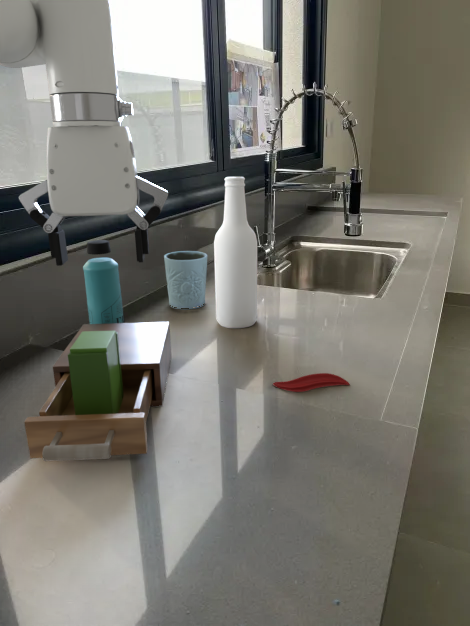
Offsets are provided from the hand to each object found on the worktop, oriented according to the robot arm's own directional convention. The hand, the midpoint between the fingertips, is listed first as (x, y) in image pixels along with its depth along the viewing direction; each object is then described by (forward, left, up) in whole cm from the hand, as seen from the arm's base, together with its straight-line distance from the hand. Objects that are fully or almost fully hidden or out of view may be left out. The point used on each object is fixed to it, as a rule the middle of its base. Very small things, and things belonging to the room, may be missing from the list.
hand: (102, 261), depth 62 cm
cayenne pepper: (+28, +8, -22) cm, 37 cm away
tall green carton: (-2, -2, -20) cm, 20 cm away
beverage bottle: (-7, +28, -22) cm, 36 cm away
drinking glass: (+7, +53, -22) cm, 58 cm away
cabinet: (-2, +12, -22) cm, 25 cm away
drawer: (-2, -4, -21) cm, 22 cm away
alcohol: (+18, +39, -22) cm, 48 cm away
